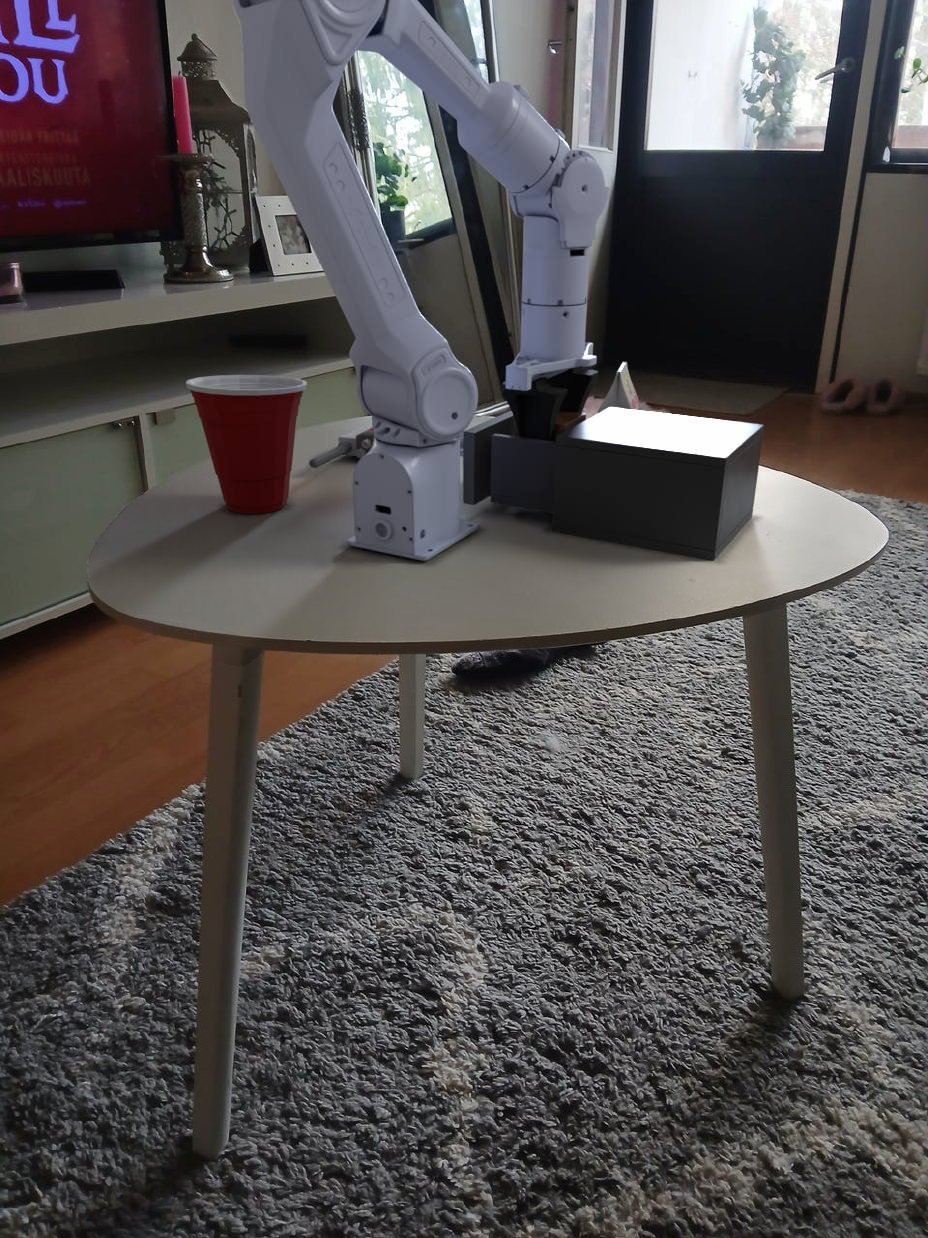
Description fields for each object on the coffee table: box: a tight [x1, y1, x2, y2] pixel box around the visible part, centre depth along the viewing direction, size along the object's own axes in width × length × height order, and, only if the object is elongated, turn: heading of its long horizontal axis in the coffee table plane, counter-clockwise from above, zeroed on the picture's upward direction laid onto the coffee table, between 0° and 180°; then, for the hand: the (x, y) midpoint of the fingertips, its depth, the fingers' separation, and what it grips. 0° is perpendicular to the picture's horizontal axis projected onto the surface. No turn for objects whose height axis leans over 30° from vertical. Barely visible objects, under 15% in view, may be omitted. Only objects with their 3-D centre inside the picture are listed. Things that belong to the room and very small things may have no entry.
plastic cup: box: [185, 374, 308, 515], centre depth 90 cm, size 11×11×12 cm
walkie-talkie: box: [308, 426, 374, 469], centre depth 107 cm, size 9×4×20 cm
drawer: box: [460, 410, 588, 514], centre depth 91 cm, size 18×11×7 cm, turn 61°
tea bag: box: [597, 361, 639, 414], centre depth 105 cm, size 4×7×10 cm, turn 166°
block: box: [514, 411, 587, 442], centre depth 90 cm, size 5×5×5 cm
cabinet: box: [551, 407, 765, 561], centre depth 86 cm, size 15×13×9 cm
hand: (548, 454), depth 90 cm, fingers closed on block, 5 cm apart
